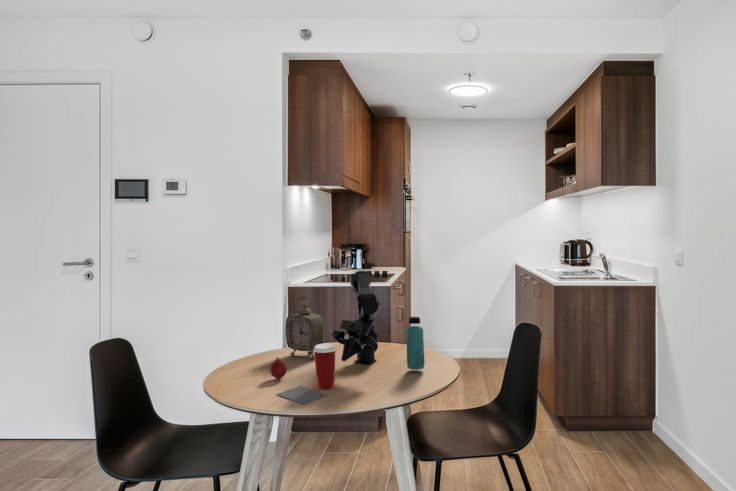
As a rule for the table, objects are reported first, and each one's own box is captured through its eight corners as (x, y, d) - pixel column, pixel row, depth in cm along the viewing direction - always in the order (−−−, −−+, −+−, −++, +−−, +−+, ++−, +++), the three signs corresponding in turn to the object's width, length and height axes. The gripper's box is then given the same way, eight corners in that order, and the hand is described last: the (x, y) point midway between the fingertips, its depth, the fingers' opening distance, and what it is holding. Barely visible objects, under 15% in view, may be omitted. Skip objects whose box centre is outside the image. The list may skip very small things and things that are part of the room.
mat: (276, 394, 150) (276, 394, 150) (300, 386, 158) (300, 385, 158) (303, 404, 142) (303, 403, 142) (327, 395, 149) (327, 394, 149)
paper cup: (341, 386, 157) (340, 345, 157) (324, 392, 152) (323, 350, 151) (326, 381, 162) (325, 341, 162) (309, 387, 157) (308, 346, 156)
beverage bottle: (424, 374, 168) (423, 318, 167) (405, 373, 169) (404, 318, 169) (425, 369, 174) (424, 315, 174) (407, 368, 175) (406, 315, 175)
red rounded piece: (289, 377, 168) (289, 355, 167) (281, 382, 162) (281, 360, 162) (275, 376, 170) (275, 354, 169) (267, 381, 164) (266, 358, 164)
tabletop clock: (286, 356, 195) (284, 297, 194) (300, 351, 203) (298, 294, 202) (313, 361, 188) (311, 299, 187) (327, 355, 195) (325, 296, 194)
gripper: (334, 308, 172) (312, 343, 165) (371, 313, 159) (349, 352, 152) (350, 325, 178) (329, 360, 171) (387, 332, 165) (366, 370, 158)
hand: (342, 360), depth 163 cm, fingers closed
